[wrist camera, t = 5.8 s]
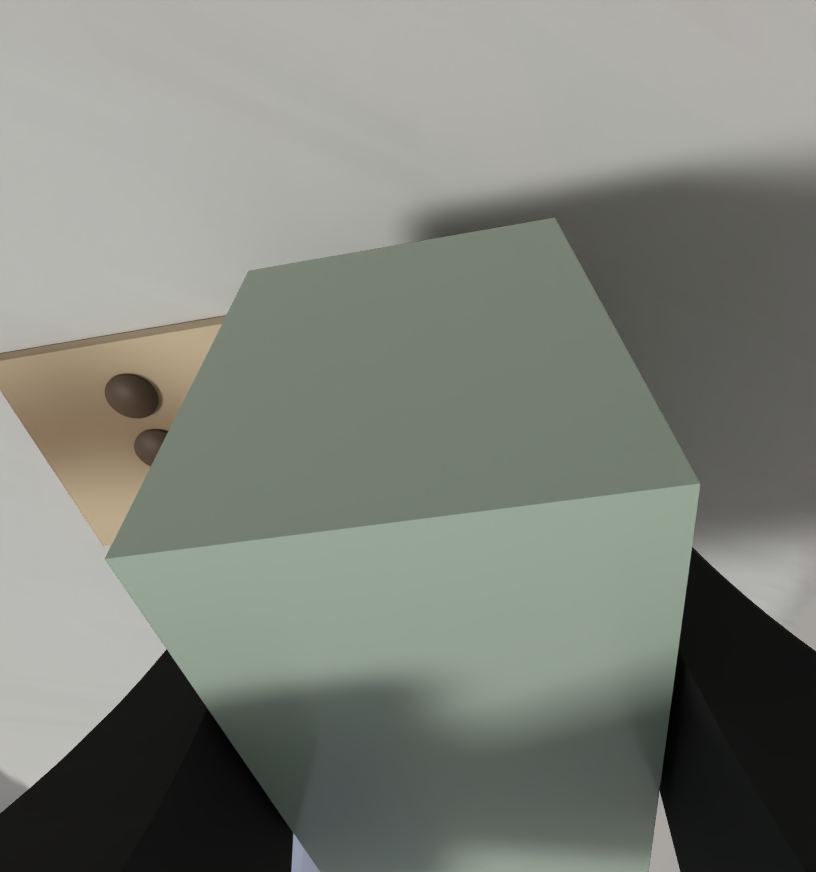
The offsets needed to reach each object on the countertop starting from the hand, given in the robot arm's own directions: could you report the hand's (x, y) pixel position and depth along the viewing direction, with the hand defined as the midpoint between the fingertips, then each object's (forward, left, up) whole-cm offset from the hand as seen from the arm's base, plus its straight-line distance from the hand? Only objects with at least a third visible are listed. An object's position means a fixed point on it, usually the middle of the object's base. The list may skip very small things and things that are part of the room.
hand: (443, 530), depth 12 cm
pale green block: (0, 0, -2) cm, 2 cm away
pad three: (0, +7, -4) cm, 8 cm away
